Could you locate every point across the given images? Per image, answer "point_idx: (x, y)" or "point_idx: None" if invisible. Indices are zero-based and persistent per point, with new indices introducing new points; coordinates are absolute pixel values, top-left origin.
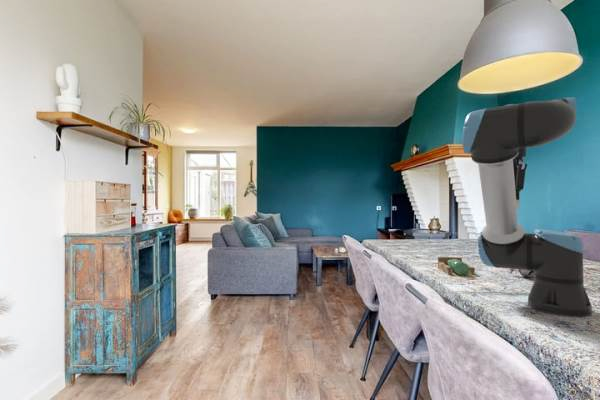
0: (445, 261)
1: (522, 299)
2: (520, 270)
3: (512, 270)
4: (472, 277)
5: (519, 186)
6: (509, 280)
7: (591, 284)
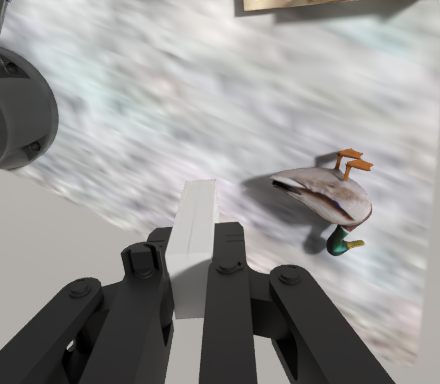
0: None
1: (55, 56)
2: (324, 169)
3: (340, 151)
4: None
5: (76, 336)
6: (276, 113)
7: None
